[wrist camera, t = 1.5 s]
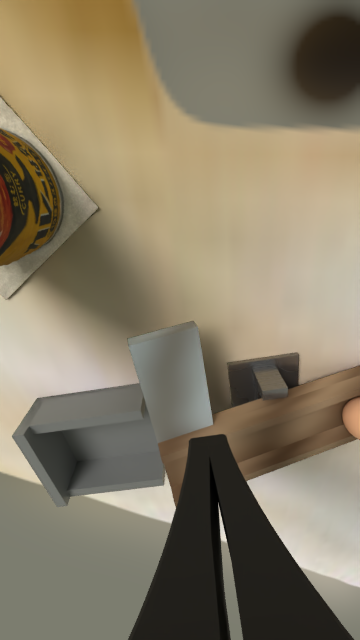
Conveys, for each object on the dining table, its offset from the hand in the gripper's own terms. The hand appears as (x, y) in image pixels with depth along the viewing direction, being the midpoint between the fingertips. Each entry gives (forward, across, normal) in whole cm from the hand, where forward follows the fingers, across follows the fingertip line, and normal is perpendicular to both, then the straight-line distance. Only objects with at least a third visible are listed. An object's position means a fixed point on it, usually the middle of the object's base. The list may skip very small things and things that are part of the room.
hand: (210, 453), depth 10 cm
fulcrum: (+9, -4, +7) cm, 12 cm away
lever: (+7, -4, +3) cm, 9 cm away
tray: (+9, +8, +7) cm, 14 cm away
